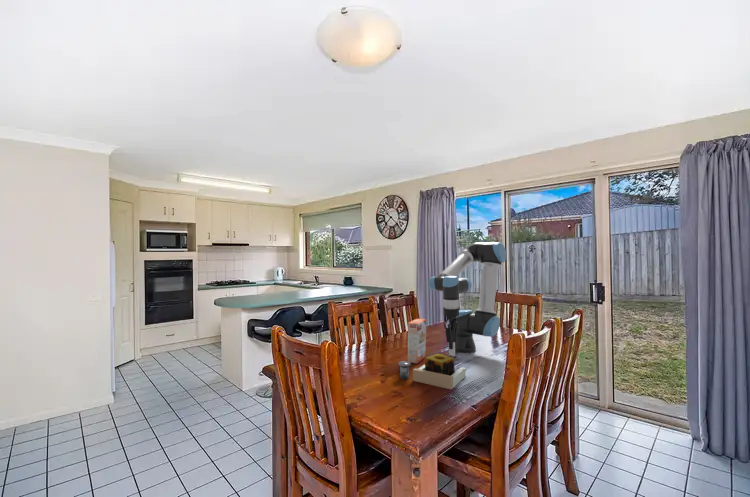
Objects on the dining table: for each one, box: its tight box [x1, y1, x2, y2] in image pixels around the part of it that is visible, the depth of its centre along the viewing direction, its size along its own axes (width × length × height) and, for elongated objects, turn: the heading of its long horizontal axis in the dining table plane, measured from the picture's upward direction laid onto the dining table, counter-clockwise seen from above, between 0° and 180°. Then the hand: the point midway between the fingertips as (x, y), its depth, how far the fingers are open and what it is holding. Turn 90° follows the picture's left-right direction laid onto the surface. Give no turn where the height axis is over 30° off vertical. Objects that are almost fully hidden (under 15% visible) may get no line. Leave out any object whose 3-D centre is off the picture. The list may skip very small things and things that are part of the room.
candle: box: [424, 353, 456, 376], centre depth 158 cm, size 10×10×10 cm
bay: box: [412, 364, 466, 390], centre depth 159 cm, size 18×18×5 cm
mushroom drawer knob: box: [398, 360, 412, 380], centre depth 160 cm, size 6×6×7 cm
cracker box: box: [407, 318, 427, 364], centre depth 186 cm, size 14×6×21 cm, turn 154°
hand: (452, 355), depth 171 cm, fingers closed
